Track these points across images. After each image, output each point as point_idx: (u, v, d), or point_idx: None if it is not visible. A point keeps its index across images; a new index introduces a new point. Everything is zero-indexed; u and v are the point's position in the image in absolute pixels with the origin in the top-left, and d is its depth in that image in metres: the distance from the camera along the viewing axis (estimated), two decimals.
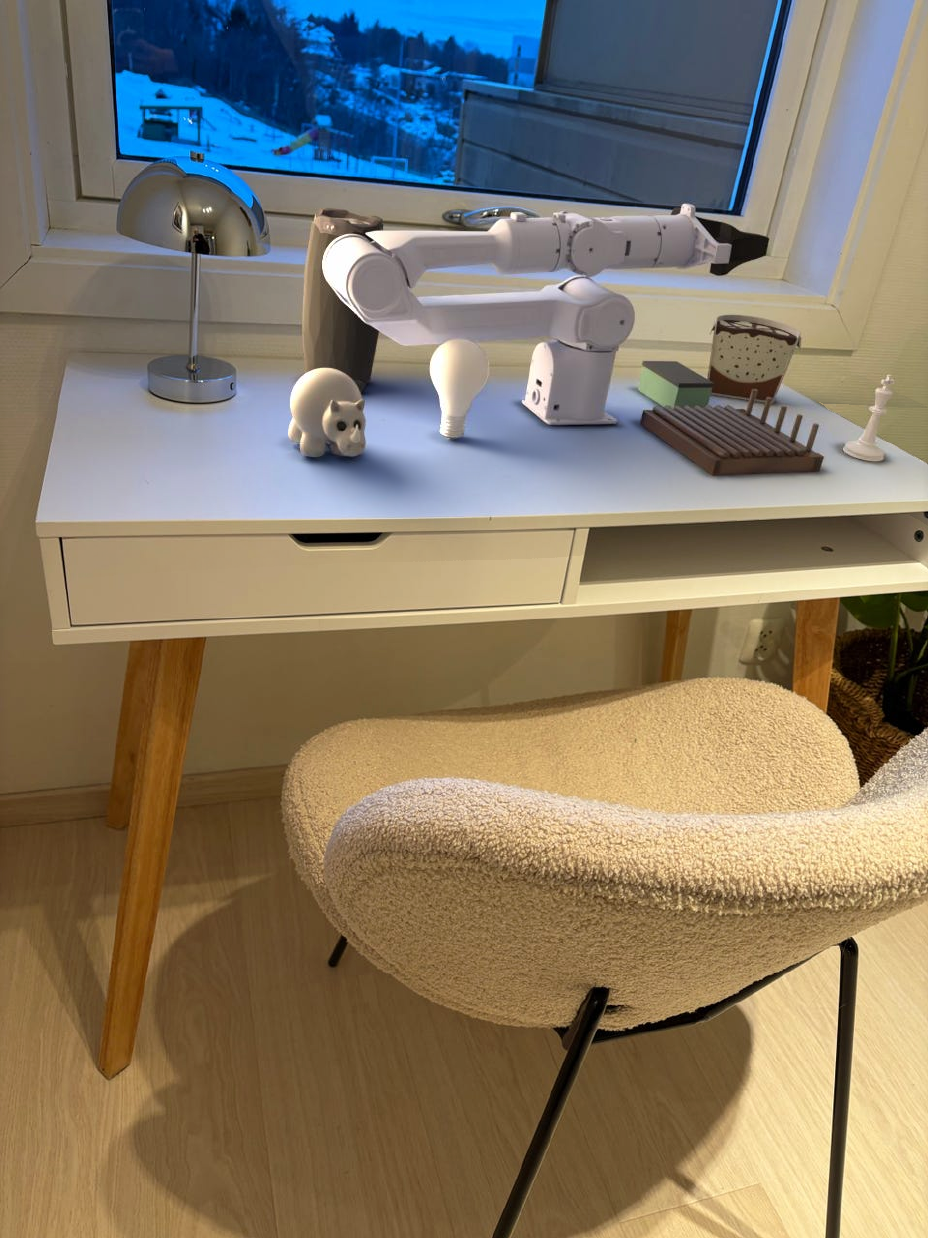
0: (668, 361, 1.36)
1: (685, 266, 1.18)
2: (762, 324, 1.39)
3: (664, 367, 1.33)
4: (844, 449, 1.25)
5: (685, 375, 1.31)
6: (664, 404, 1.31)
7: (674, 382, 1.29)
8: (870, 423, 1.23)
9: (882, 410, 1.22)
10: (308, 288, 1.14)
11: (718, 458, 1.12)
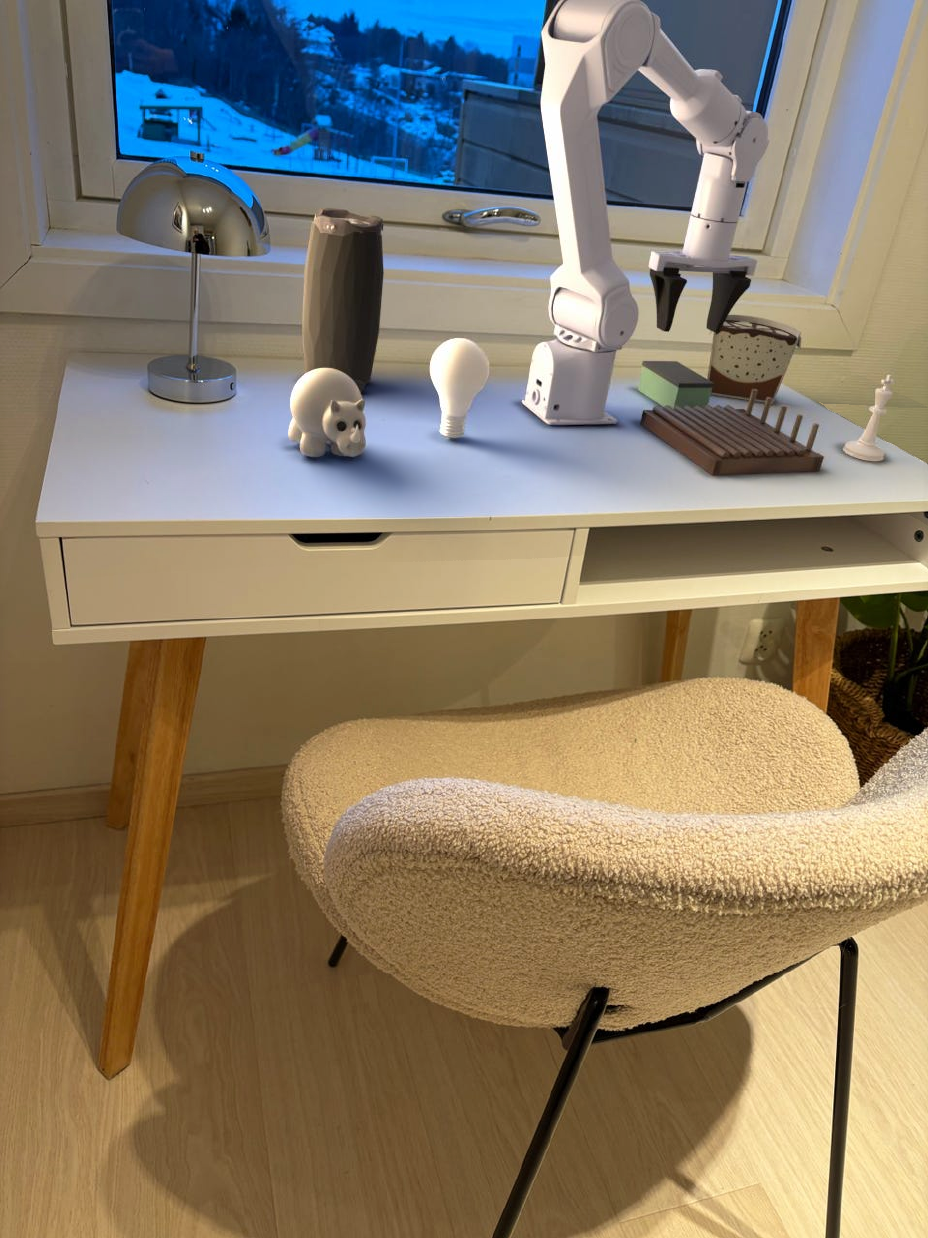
0: (668, 361, 1.36)
1: (728, 260, 1.24)
2: (762, 324, 1.39)
3: (664, 367, 1.33)
4: (844, 449, 1.25)
5: (685, 375, 1.31)
6: (664, 404, 1.31)
7: (674, 382, 1.29)
8: (870, 423, 1.23)
9: (882, 410, 1.22)
10: (308, 288, 1.14)
11: (718, 458, 1.12)
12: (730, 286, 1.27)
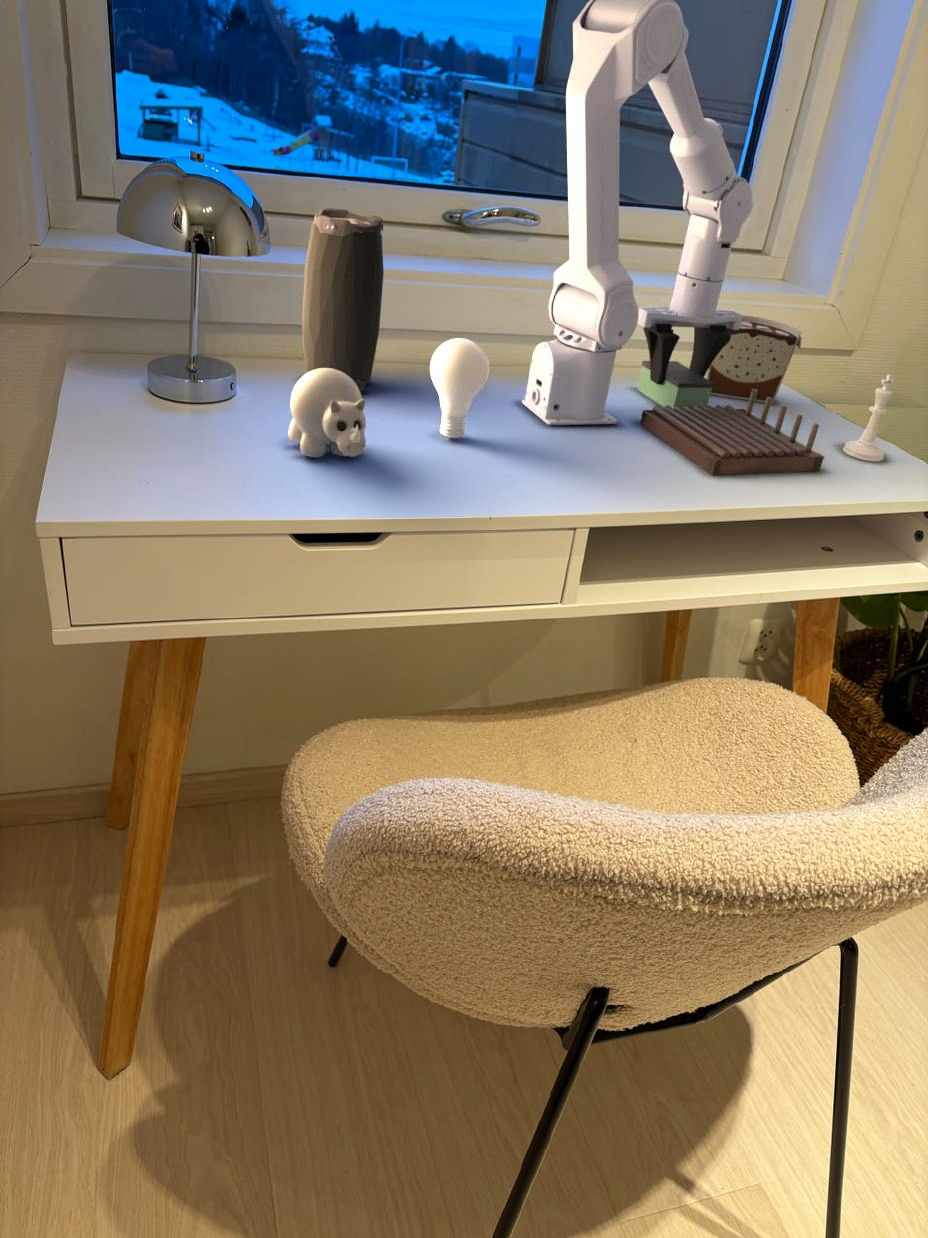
0: None
1: (714, 317, 1.27)
2: (762, 324, 1.39)
3: None
4: (844, 449, 1.25)
5: (685, 375, 1.31)
6: (664, 404, 1.31)
7: (674, 382, 1.29)
8: (870, 423, 1.23)
9: (882, 410, 1.22)
10: (308, 288, 1.14)
11: (718, 458, 1.12)
12: (710, 340, 1.30)
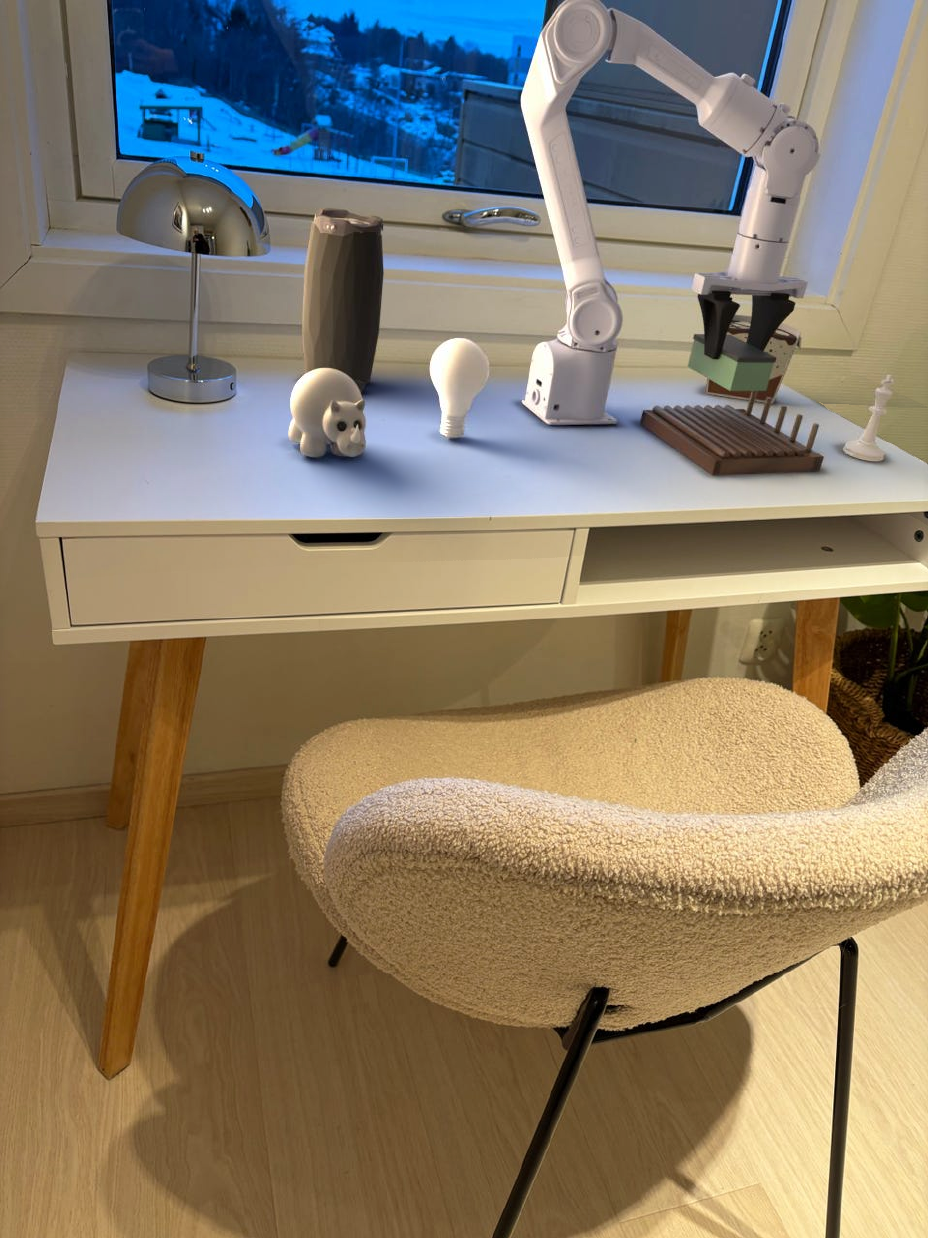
0: None
1: (778, 283, 1.14)
2: None
3: None
4: (844, 449, 1.25)
5: (743, 349, 1.18)
6: (720, 381, 1.18)
7: (732, 356, 1.15)
8: (870, 423, 1.23)
9: (882, 410, 1.22)
10: (308, 288, 1.14)
11: (718, 458, 1.12)
12: (772, 310, 1.17)
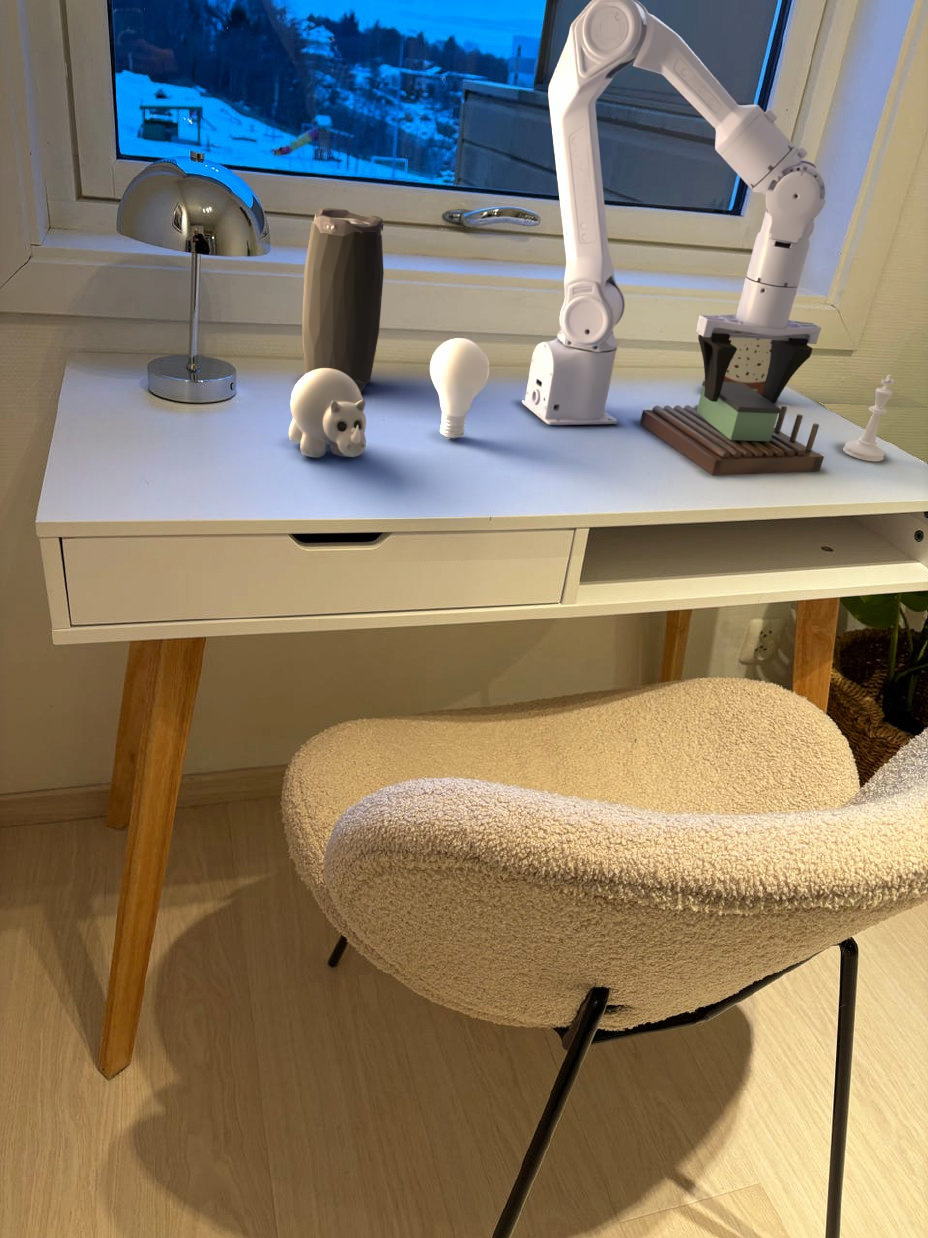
0: (733, 382, 1.22)
1: (785, 328, 1.12)
2: None
3: (726, 388, 1.19)
4: (844, 449, 1.25)
5: (748, 398, 1.17)
6: (722, 430, 1.17)
7: (734, 405, 1.14)
8: (870, 423, 1.23)
9: (882, 410, 1.22)
10: (308, 288, 1.14)
11: (718, 458, 1.12)
12: (788, 355, 1.15)
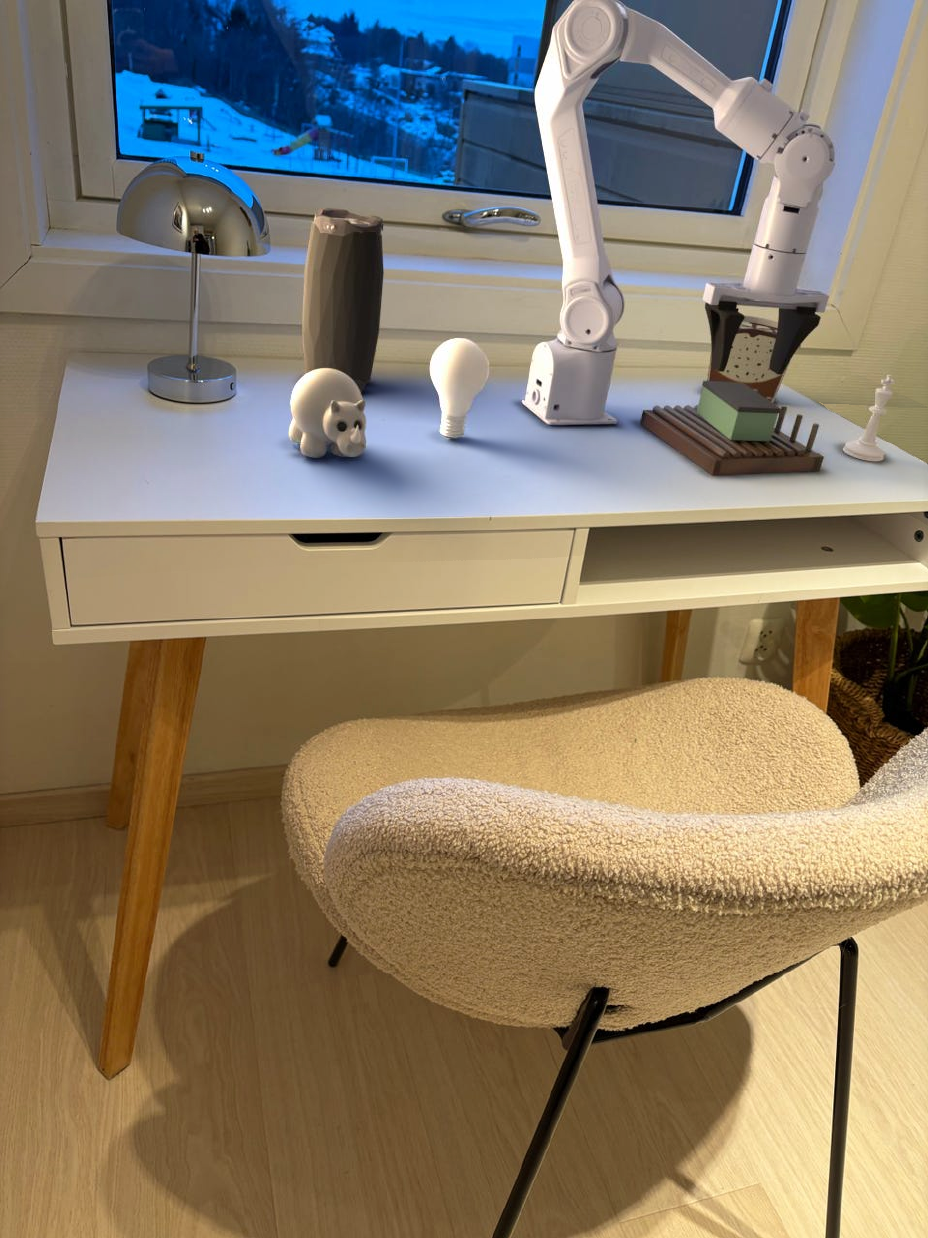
0: (733, 382, 1.22)
1: (794, 295, 1.11)
2: (762, 324, 1.39)
3: (726, 388, 1.19)
4: (844, 449, 1.25)
5: (748, 398, 1.17)
6: (722, 430, 1.17)
7: (734, 405, 1.14)
8: (870, 423, 1.23)
9: (882, 410, 1.22)
10: (308, 288, 1.14)
11: (718, 458, 1.12)
12: (796, 324, 1.14)
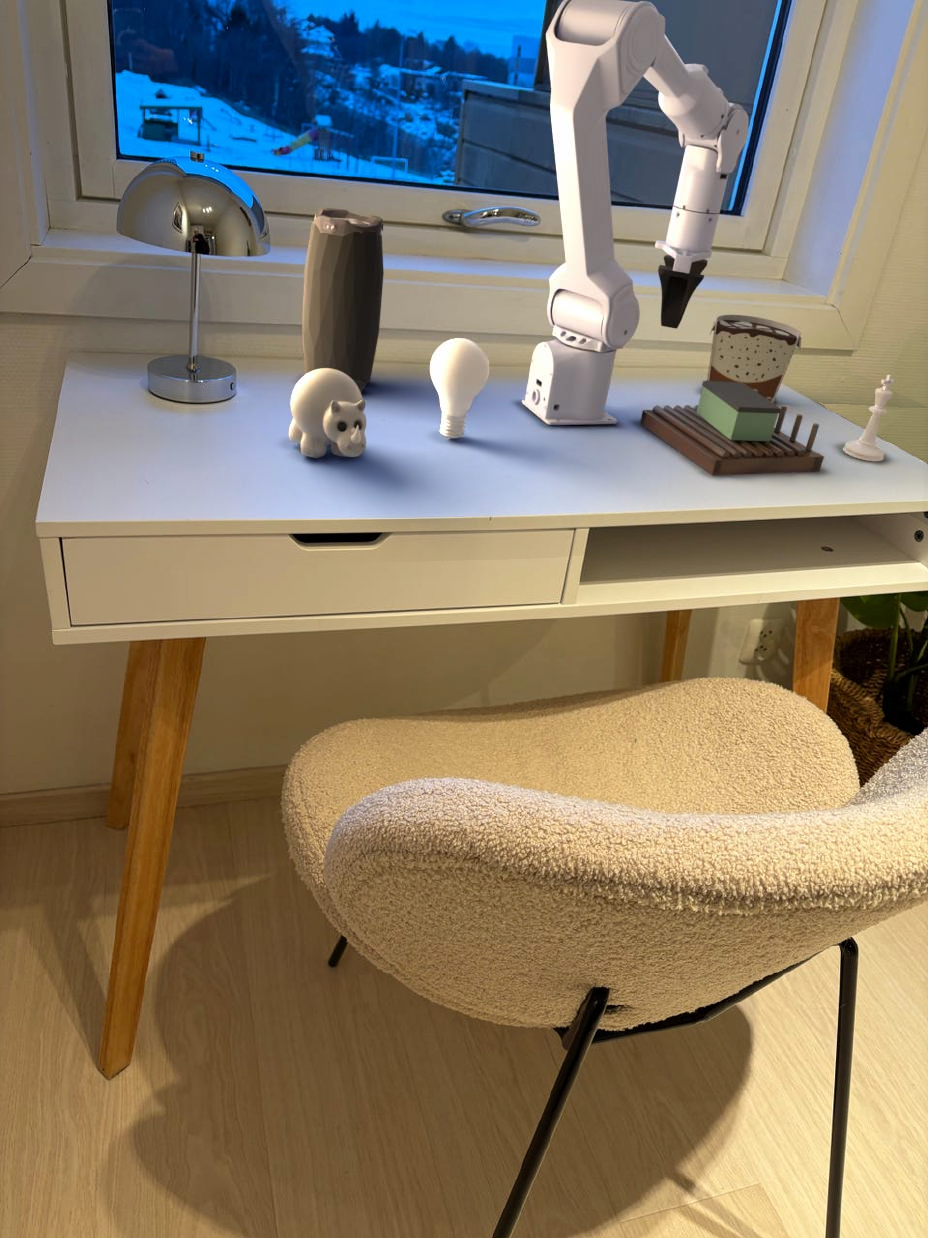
0: (733, 382, 1.22)
1: None
2: (762, 324, 1.39)
3: (726, 388, 1.19)
4: (844, 449, 1.25)
5: (748, 398, 1.17)
6: (722, 430, 1.17)
7: (734, 405, 1.14)
8: (870, 423, 1.23)
9: (882, 410, 1.22)
10: (308, 288, 1.14)
11: (718, 458, 1.12)
12: (695, 270, 1.31)
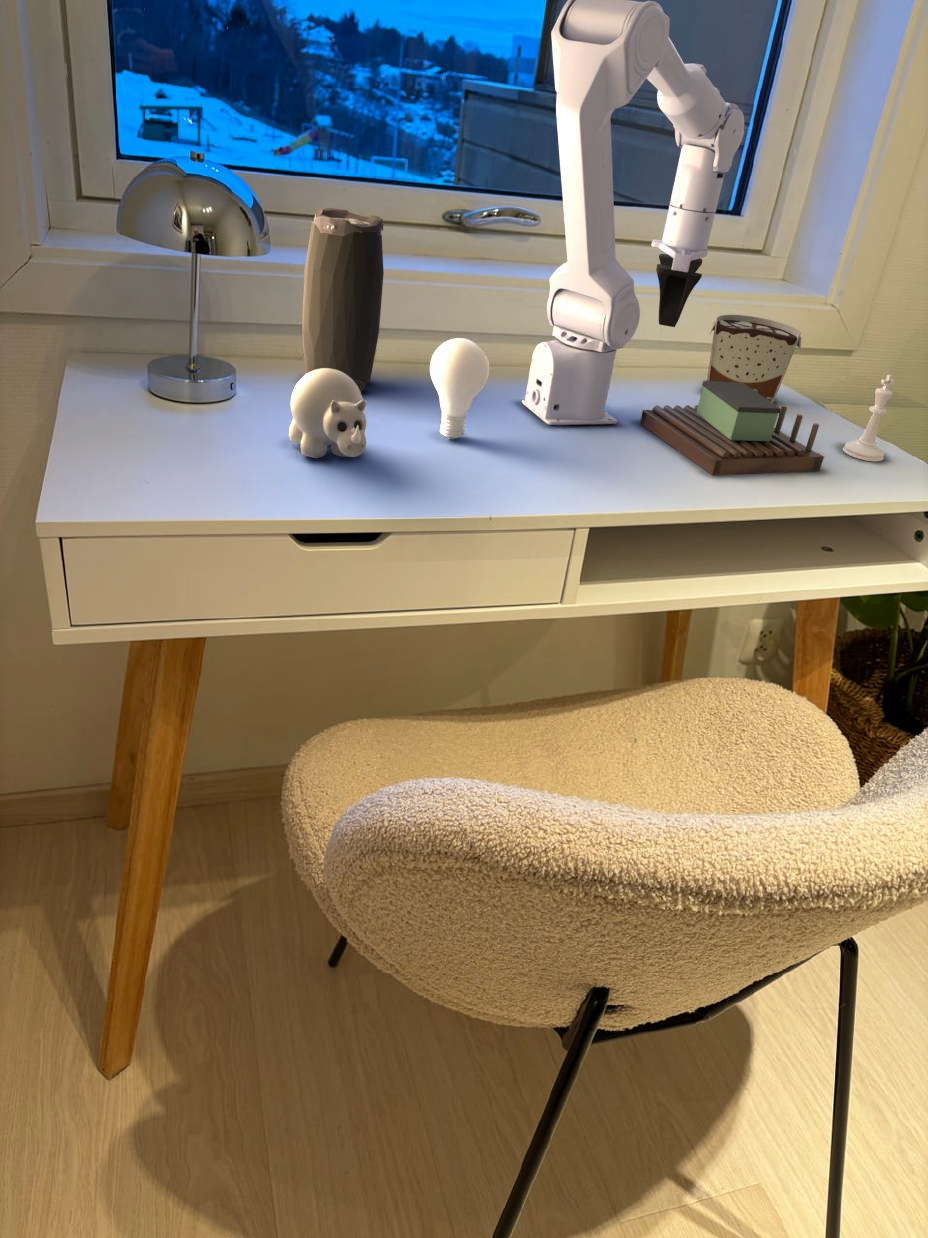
0: (733, 382, 1.22)
1: None
2: (762, 324, 1.39)
3: (726, 388, 1.19)
4: (844, 449, 1.25)
5: (748, 398, 1.17)
6: (722, 430, 1.17)
7: (734, 405, 1.14)
8: (870, 423, 1.23)
9: (882, 410, 1.22)
10: (308, 288, 1.14)
11: (718, 458, 1.12)
12: (690, 268, 1.32)
